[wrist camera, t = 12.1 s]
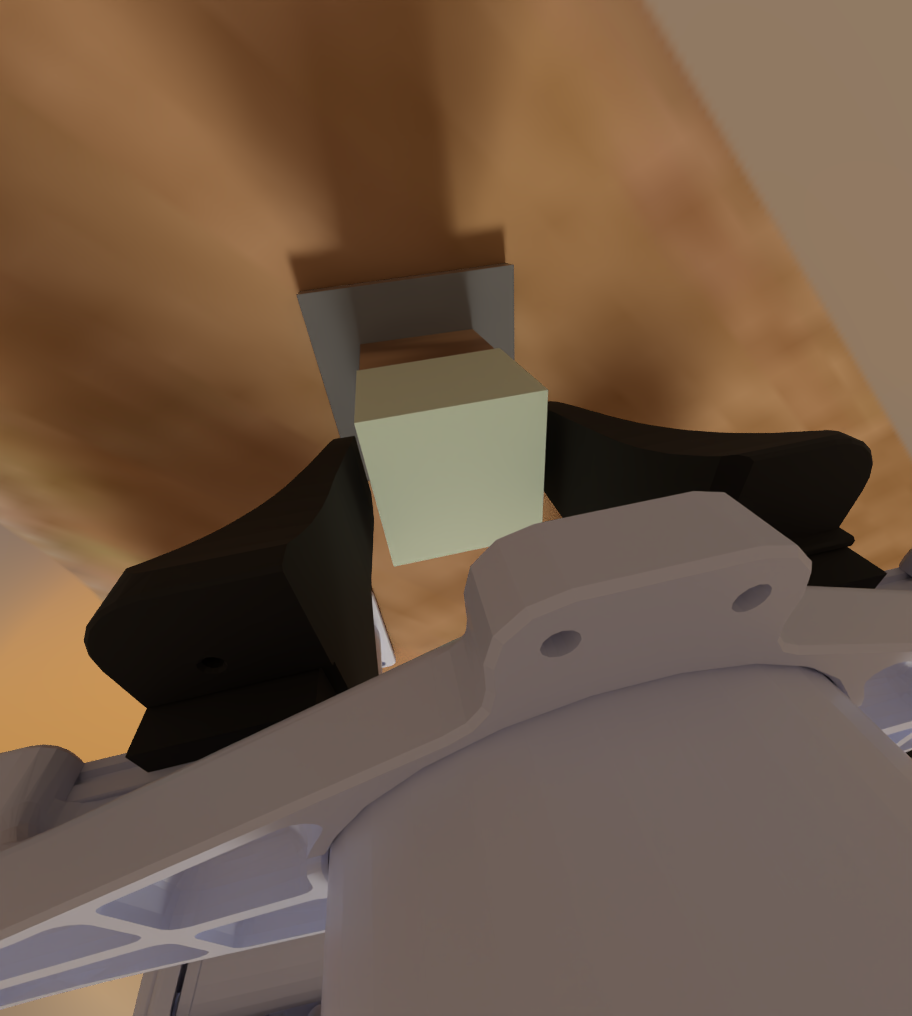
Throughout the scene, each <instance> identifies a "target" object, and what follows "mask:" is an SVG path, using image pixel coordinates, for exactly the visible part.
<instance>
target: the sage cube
mask: <svg viewBox="0 0 912 1016" xmlns="http://www.w3.org/2000/svg"><path fill="white" fill-rule="evenodd" d="M547 404H548V389H547V388H545V387H544V386H543V385H542V384H541V383H540V382H539V381H537V380H536V379H535V378H534V377H533V376H532V375H530V374H529V373H528V372H527V371H526V370H525V369H523V368H522V367H521V366H520V365H519V364H518V363H517V362H515V361H514V360H513V359H512V358H511V357H510V356H508V355H507V354H506V353H505V352H504V351H503V350H501V349H500V348H496V349H490V350H484V351H477V352H471V353H465V354H458V355H452V356H446V357H440V358H433V359H427V360H421V361H415V362H408V363H402V364H396V365H389V366H383V367H377V368H371V369H364V370H358V371H357V374H356V394H355V415H354V425H355V428H356V432H357V435H358V439H359V443H360V446H361V450H362V453H363V457H364V461H365V464H366V468H367V471H368V475H369V479H370V482H371V486H372V489H373V493H374V497H375V500H376V504H377V507H378V511H379V515H380V518H381V522H382V525H383V529H384V533H385V536H386V540H387V543H388V547H389V551H390V554H391V558H392V561H393V565H394V566H399V565H404V564H409V563H413V562H418V561H423V560H428V559H432V558H437V557H442V556H447V555H451V554H456V553H461V552H466V551H471V550H475V549H480V548H485V547H490V546H491V545H492V544H493V543H494V542H495V541H496V540H497V539H499V538H502V537H504V536H507V535H509V534H511V533H514V532H516V531H518V530H521V529H523V528H526V527H528V526H530V525H533V524H536V523H541V522H542V516H543V493H544V471H545V449H546V427H547Z"/></svg>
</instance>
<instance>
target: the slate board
mask: <svg viewBox="0 0 912 1016" xmlns="http://www.w3.org/2000/svg"><path fill="white" fill-rule="evenodd" d="M297 298H298V301H299V305H300V308H301V311H302V314H303V318H304V321H305V324H306V327H307V331H308V334H309V337H310V340H311V344H312V347H313V350H314V353H315V357H316V360H317V363H318V366H319V370H320V373H321V376H322V379H323V383H324V386H325V389H326V392H327V396H328V399H329V402H330V405H331V409H332V412H333V415H334V418H335V422H336V425H337V428H338V431H339V434H340V438H344V437H350V436H355V438H356V441H357V445H358V448H359V452H360V456H361V459H362V463H363V466H364V470H365V473H366V477H367V480H370V479H369V475H368V471H367V468H366V464H365V461H364V457H363V453H362V450H361V446H360V443H359V439H358V435H357V432H356V428H355V425H354V415H355V394H356V374H357V371H358V370H359V364H360V344H366V343H374V342H381V341H388V340H396V339H403V338H410V337H418V336H425V335H432V334H440V333H447V332H454V331H462V330H469V329H473V330H474V331H475V332H477V333H478V334H479V335H480V336H481V337H482V338H483V339H484V340H485V341H487V342H488V343H489V344H490V345H491V346H492V347H493V348H494V349H496V348H500V349H501V350H503V351H504V352H505V353H506V354H507V355H508V356H510V357H511V358H512V359H513V360H514V265H512V264H508V263H502V264H495V265H487V266H480V267H473V268H466V269H458V270H451V271H444V272H437V273H429V274H422V275H415V276H407V277H400V278H393V279H386V280H378V281H371V282H364V283H357V284H349V285H342V286H335V287H328V288H320V289H313V290H306V291H300V292H299V293H298V294H297Z"/></svg>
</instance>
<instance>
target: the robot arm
mask: <svg viewBox="0 0 912 1016" xmlns="http://www.w3.org/2000/svg"><path fill="white" fill-rule="evenodd" d="M872 465H873V462H872V455H871V450H870V448H869V447H868V446H867V445H866V444H865V443H864V442H863V441H860V440H858V439H856V438H853V437H851V436H849V435H846V434H844V433H842V432H839V431H832V430H823V431H803V432H784V433H718V432H703V431H690V430H680V429H672V428H665V427H659V426H652V425H646V424H641V423H636V422H632V421H628V420H623V419H619V418H615V417H611V416H607V415H604V414H600V413H597V412H593V411H590V410H586V409H583V408H579V407H576V406H572V405H568V404H564V403H560V402H553V401H549V402H548V404H547V427H546V449H545V471H544V492H545V493H546V495H547V496H548V498H549V499H550V500H551V502H552V503H553V505H554V506H555V508H556V509H557V510H558V512H559V513H560V515H561V516H562V517H563V518H561V519H556V520H551V521H546V522H541V523H536V524H533V525H530V526H528V527H526V528H523V529H521V530H518V531H516V532H514V533H511V534H509V535H507V536H504V537H502V538H499V539H497V540H496V541H495V542H494V543H493V544H492V545H491V546H490V547H489V548H488V549H487V550H486V551H485V552H484V553H483V554H482V555H481V556H480V557H479V558H478V559H477V560H476V561H475V562H474V563H473V564H472V565H471V566H470V570H469V574H468V578H467V582H466V586H465V591H464V599H465V607H466V614H467V628H466V632H465V634H464V635H463V636H461V637H459V638H457V639H455V640H453V641H451V642H448V643H446V644H444V645H442V646H440V647H438V648H436V649H434V650H431V651H429V652H427V653H425V654H423V655H421V656H419V657H416V658H414V659H412V660H410V661H408V662H406V663H404V664H402V665H399V666H397V667H395V668H393V669H391V670H389V671H387V672H385V673H382V668H384V667H388V666H392V665H393V664H395V662H396V659H395V654H394V651H393V648H392V646H391V643H390V640H389V637H388V634H387V631H386V628H385V625H384V622H383V619H382V616H381V613H380V611H379V608H378V605H377V602H376V599H375V596H374V593H373V592H372V591H371V574H372V553H373V531H374V515H373V505H372V496H371V491H370V487H369V484H368V480H367V477H366V473H365V470H364V466H363V463H362V459H361V456H360V452H359V448H358V445H357V441H356V438H355V436H350V437H344V438H338V439H334V440H332V441H331V442H330V443H329V444H328V445H327V446H326V447H325V448H324V449H323V450H322V451H321V452H320V454H319V455H318V456H317V457H316V458H315V459H314V460H313V461H312V462H311V463H310V464H309V465H308V466H307V467H306V468H305V469H304V470H303V471H302V472H301V473H300V474H299V475H298V476H296V477H295V478H294V479H293V480H292V481H291V482H290V483H289V484H288V485H287V486H286V487H284V488H283V489H282V490H281V491H279V492H278V493H277V494H276V495H274V496H273V497H271V498H270V499H269V500H267V501H266V502H265V503H263V504H262V505H260V506H259V507H257V508H256V509H254V510H252V511H251V512H249V513H247V514H246V515H244V516H242V517H241V518H239V519H237V520H236V521H234V522H232V523H231V524H229V525H227V526H225V527H223V528H221V529H219V530H217V531H215V532H213V533H211V534H210V535H207V536H205V537H203V538H201V539H199V540H197V541H195V542H192V543H190V544H188V545H186V546H183V547H181V548H179V549H176V550H174V551H171V552H169V553H166V554H163V555H161V556H158V557H156V558H153V559H151V560H148V561H146V562H143V563H140V564H138V565H135V566H132V567H129V568H127V569H126V570H125V571H124V572H123V574H122V575H121V577H120V578H119V580H118V581H117V583H116V584H115V585H114V587H113V588H112V590H111V591H110V593H109V594H108V596H107V597H106V598H105V600H104V601H103V603H102V604H101V606H100V607H99V609H98V610H97V611H96V613H95V614H94V616H93V617H92V619H91V620H90V622H89V623H88V625H87V626H86V631H85V637H84V643H85V646H86V649H87V652H88V654H89V656H90V657H91V659H92V660H93V661H94V662H95V663H96V664H97V665H98V667H99V668H100V669H101V670H102V671H103V672H104V673H105V674H106V675H108V676H109V677H110V678H111V679H113V680H114V681H115V682H116V683H117V684H119V685H120V686H121V687H122V688H123V689H124V690H126V691H127V692H128V693H129V694H130V695H132V696H133V697H134V698H135V699H136V700H138V701H139V702H140V703H141V704H142V705H144V706H145V707H146V708H147V710H146V712H145V714H144V716H143V718H142V721H141V723H140V725H139V727H138V729H137V732H136V734H135V736H134V739H133V740H132V743H131V745H130V747H129V749H128V752H127V753H125V754H121V755H117V756H112V757H108V758H104V759H100V760H96V761H91V762H87V763H83V762H82V760H81V759H80V758H79V757H77V756H76V755H75V754H74V753H72V752H70V751H69V750H67V749H64V748H62V747H59V746H52V745H36V746H29V747H25V748H21V749H17V750H12V751H8V752H4V753H0V1010H1V1009H4V1008H8V1007H12V1006H15V1005H19V1004H22V1003H26V1002H30V1001H33V1000H37V999H41V998H44V997H48V996H52V995H55V994H59V993H64V992H68V991H71V990H75V989H79V988H83V987H87V986H91V985H95V984H99V983H103V982H106V981H111V980H115V979H120V978H124V977H128V976H132V975H137V974H141V973H143V977H142V981H141V985H140V989H139V993H138V997H137V1001H136V1005H135V1009H134V1013H133V1016H912V759H911V758H910V757H909V756H908V755H907V754H906V753H905V752H907V751H910V750H912V548H911V549H910V550H909V551H908V553H907V554H906V555H905V556H904V558H903V559H902V561H901V562H900V564H899V568H895V569H891V570H886V571H883V570H882V569H880V568H878V567H877V566H875V565H874V564H872V563H871V562H869V561H868V560H866V559H865V558H863V557H862V556H860V555H859V554H857V553H856V552H854V551H852V550H851V549H849V548H848V547H847V546H851V545H852V544H853V543H854V541H855V540H854V537H853V536H852V535H851V534H849V533H847V532H846V531H844V530H843V529H841V528H839V526H840V525H841V523H842V522H843V520H844V518H845V517H846V515H847V514H848V512H849V511H850V509H851V508H852V506H853V505H854V503H855V501H856V500H857V498H858V497H859V495H860V494H861V492H862V491H863V489H864V487H865V485H866V483H867V481H868V479H869V477H870V473H871V469H872Z"/></svg>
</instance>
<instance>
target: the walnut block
mask: <svg viewBox="0 0 912 1016" xmlns="http://www.w3.org/2000/svg"><path fill="white" fill-rule="evenodd" d="M490 349H494V348H493V347H492V346H491V345H490V344H489V343H488V342H487V341H485V340H484V339H483V338H482V337H481V336H480V335H479V334H478V333H477V332H475V331H474V330H473V329H469V330H462V331H454V332H447V333H440V334H432V335H425V336H418V337H410V338H403V339H396V340H388V341H381V342H374V343H366V344H360V364H359V370H364V369H371V368H377V367H383V366H389V365H396V364H402V363H408V362H415V361H421V360H427V359H433V358H440V357H446V356H452V355H458V354H465V353H471V352H477V351H484V350H490Z"/></svg>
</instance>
